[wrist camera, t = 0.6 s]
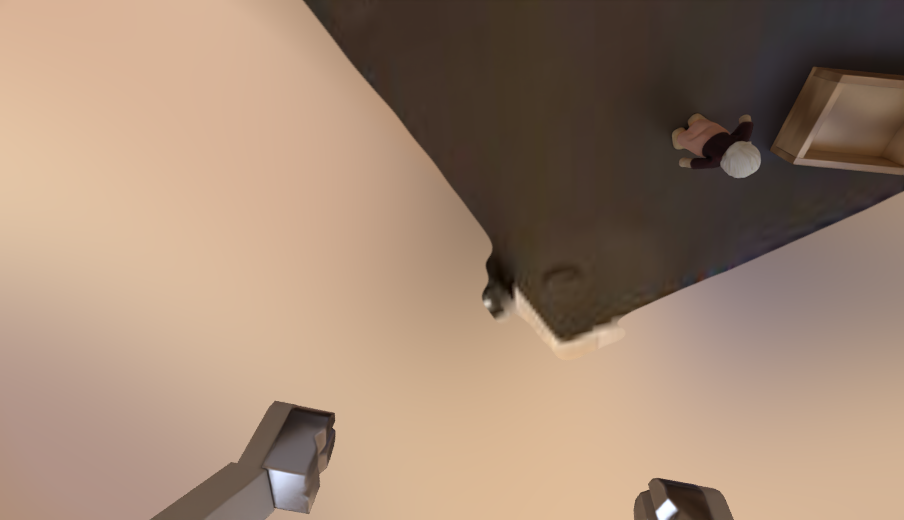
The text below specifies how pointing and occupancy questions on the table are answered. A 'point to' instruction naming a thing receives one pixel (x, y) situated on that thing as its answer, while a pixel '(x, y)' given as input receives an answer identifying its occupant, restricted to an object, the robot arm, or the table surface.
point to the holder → (846, 122)
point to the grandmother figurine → (718, 146)
